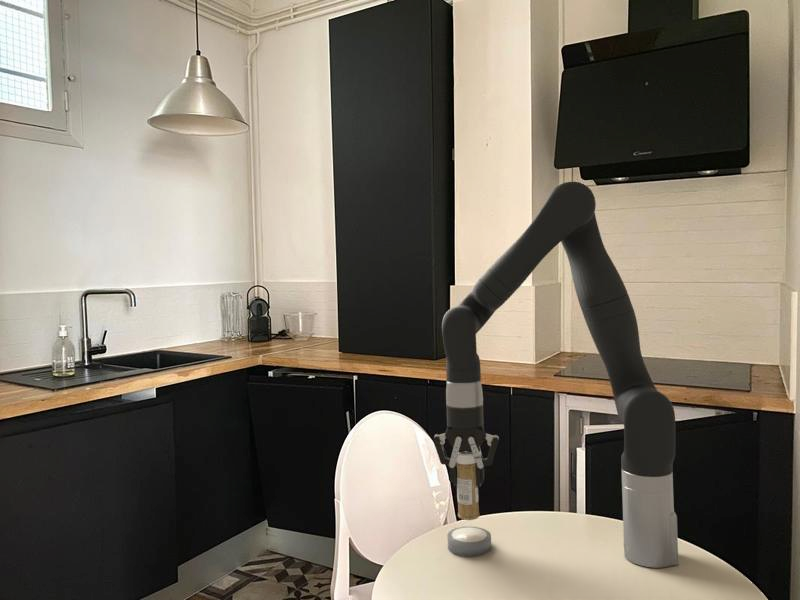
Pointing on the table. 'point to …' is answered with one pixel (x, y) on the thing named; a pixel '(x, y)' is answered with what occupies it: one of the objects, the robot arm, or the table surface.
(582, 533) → the table surface
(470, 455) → the sprinkles bottle
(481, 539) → the stand
